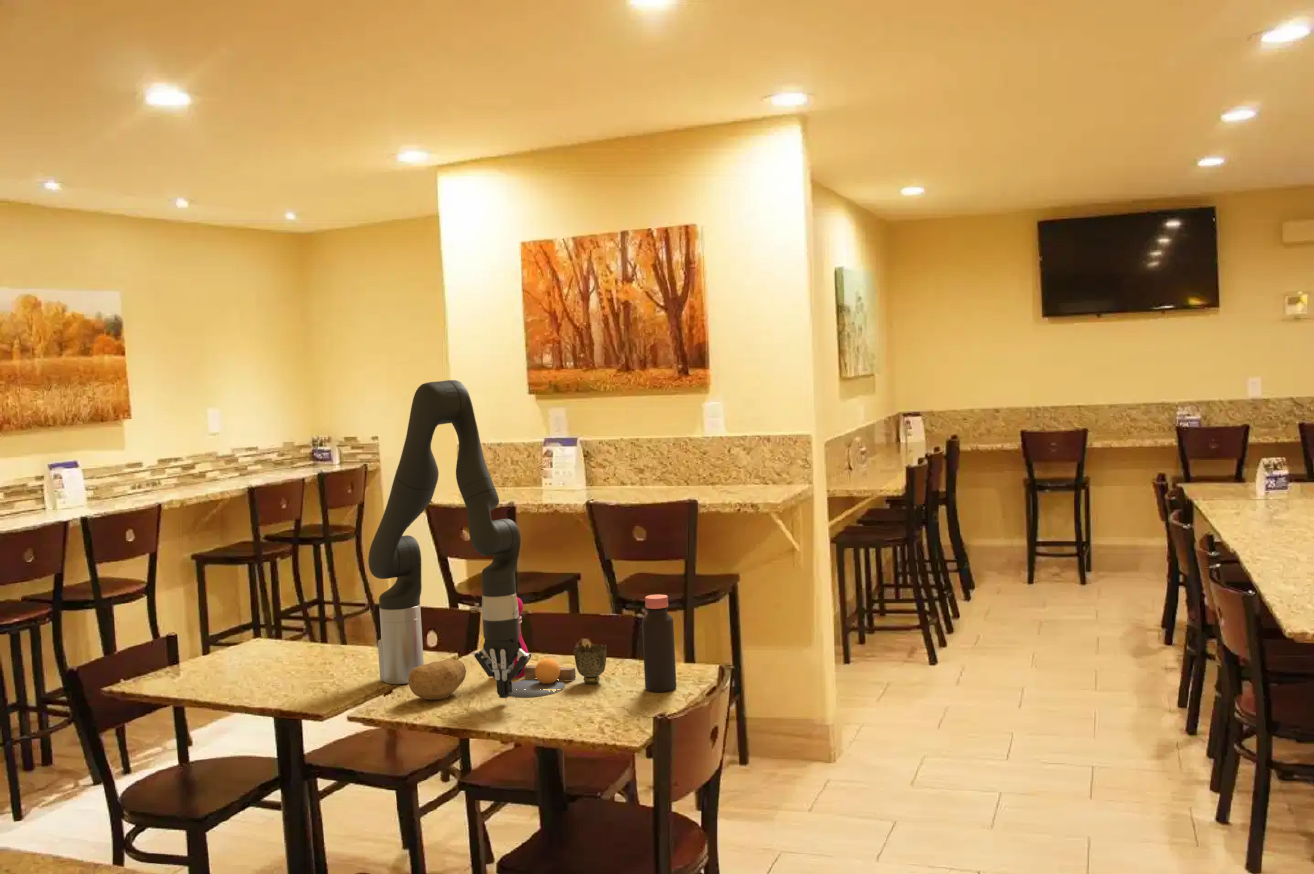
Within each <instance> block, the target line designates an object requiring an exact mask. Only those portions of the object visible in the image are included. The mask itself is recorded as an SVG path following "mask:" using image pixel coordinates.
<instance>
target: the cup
mask: <svg viewBox="0 0 1314 874" xmlns="http://www.w3.org/2000/svg"><path fill="white" fill-rule="evenodd" d="M607 649H608V648H607V644H605V645H603V643H602V644H601V645H599V644H598V643H596V644H594V643H592V644H591V645H589V644H588V643H587V644H586V645H585V646H584V645H583V644H579V645H578V646H575V647H574V648H572V650H573V655H574V662H575V668H576V670H577V672H578V673H579V675H580V676H582V677H583V678H582V679H583V682H584V683H585V684H587V685H595V684H598V683H599V682H600V679H601V677H600V675H602V674H603V673H604V672H605V669H606V664H607V651H608V650H607Z"/></svg>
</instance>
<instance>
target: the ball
mask: <svg viewBox="0 0 1314 874" xmlns="http://www.w3.org/2000/svg"><path fill="white" fill-rule="evenodd" d="M535 666H536V668H535V675H536V678H537V679H538V680H539V681H540V682H541V683H543V684H551V683H554V682H555V681H556V680H557V679H558V678H559V675H560V667H561V666H560V664H559V663H558V662H557V661H556V660H555V659H553V658H543V659H541V660H540V661H538V662H537V664H536V665H535Z"/></svg>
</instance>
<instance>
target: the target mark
mask: <svg viewBox="0 0 1314 874" xmlns="http://www.w3.org/2000/svg"><path fill="white" fill-rule="evenodd" d="M565 687H566V684H565V683H564V681H560V680H559V681H558V680H556V681H555V682H554V683H551V684H543V683H541V682H540V681H539V680H538V679H533V680H532V679H529V678H527V679H522V680H518V681H514V682H512V694H510V696H509V697H511V696H512V698H537V697H538V696H539V697H543V695H545V696H548V695H547V694H550V695H552V694H551V693H553V694H555V693H554V692H553V691H552V690H550V692H549V691H548V690H543V689H556V691H555V692H556V693H558V692H557V691H559V690H557V689H562V690H563V688H564V689H565ZM516 689H517V690H516ZM524 689H526V690H524ZM540 689H541V690H540ZM559 692H560V691H559Z"/></svg>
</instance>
